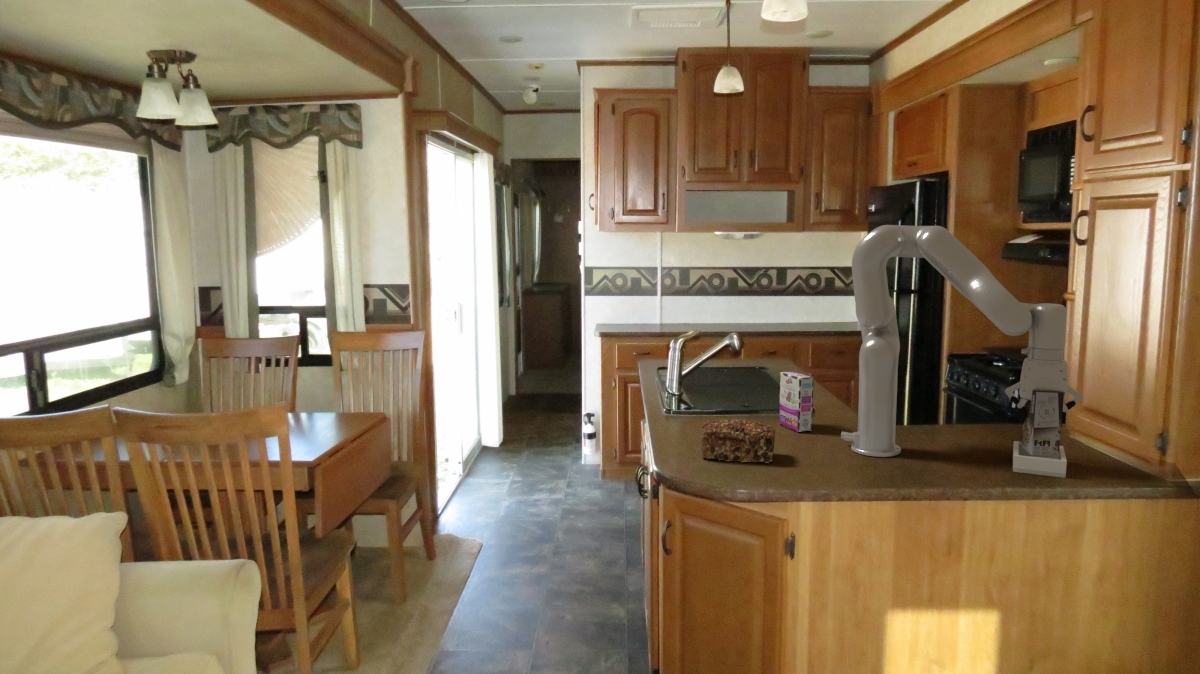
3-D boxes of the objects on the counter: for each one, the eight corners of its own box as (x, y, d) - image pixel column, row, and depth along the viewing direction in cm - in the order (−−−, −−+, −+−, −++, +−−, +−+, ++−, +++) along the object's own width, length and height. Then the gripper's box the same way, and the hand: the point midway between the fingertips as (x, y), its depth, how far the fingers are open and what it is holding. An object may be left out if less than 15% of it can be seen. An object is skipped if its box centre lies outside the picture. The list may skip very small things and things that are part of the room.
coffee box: (1060, 457, 183) (1065, 392, 181) (1031, 456, 185) (1035, 391, 182) (1046, 446, 192) (1051, 384, 190) (1018, 445, 194) (1023, 383, 191)
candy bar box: (813, 431, 224) (814, 377, 221) (798, 433, 222) (799, 378, 220) (792, 422, 234) (793, 370, 232) (778, 424, 233) (779, 371, 230)
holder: (1012, 471, 186) (1013, 455, 185) (1012, 455, 198) (1013, 441, 197) (1065, 477, 180) (1066, 461, 180) (1062, 461, 193) (1063, 446, 192)
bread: (700, 461, 199) (700, 423, 197) (706, 449, 209) (706, 413, 207) (773, 465, 194) (774, 427, 192) (775, 453, 204) (776, 417, 202)
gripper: (1005, 354, 186) (1000, 424, 188) (1089, 359, 178) (1083, 432, 180) (1005, 349, 192) (1001, 417, 195) (1086, 354, 184) (1081, 424, 187)
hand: (1040, 424), depth 188 cm, fingers closed on coffee box, 7 cm apart
